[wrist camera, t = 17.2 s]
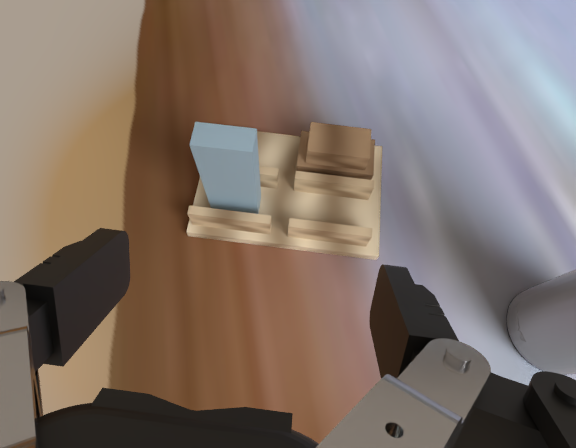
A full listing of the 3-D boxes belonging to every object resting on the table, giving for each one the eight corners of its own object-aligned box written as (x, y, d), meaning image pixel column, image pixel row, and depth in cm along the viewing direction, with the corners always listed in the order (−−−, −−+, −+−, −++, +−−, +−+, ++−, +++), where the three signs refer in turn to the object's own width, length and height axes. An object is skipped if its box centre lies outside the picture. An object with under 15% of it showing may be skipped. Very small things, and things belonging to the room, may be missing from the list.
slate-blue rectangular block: (261, 196, 47) (256, 128, 35) (258, 215, 46) (252, 152, 34) (215, 191, 47) (195, 121, 35) (211, 209, 46) (189, 144, 34)
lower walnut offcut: (370, 151, 50) (374, 139, 47) (368, 185, 48) (373, 175, 45) (300, 142, 50) (301, 130, 48) (295, 176, 48) (296, 165, 46)
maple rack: (379, 151, 51) (388, 131, 47) (376, 259, 45) (385, 247, 41) (213, 131, 52) (209, 110, 48) (188, 235, 46) (180, 221, 42)
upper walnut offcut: (366, 142, 47) (371, 129, 45) (365, 170, 46) (369, 158, 43) (309, 135, 47) (310, 122, 45) (305, 163, 46) (307, 150, 43)
